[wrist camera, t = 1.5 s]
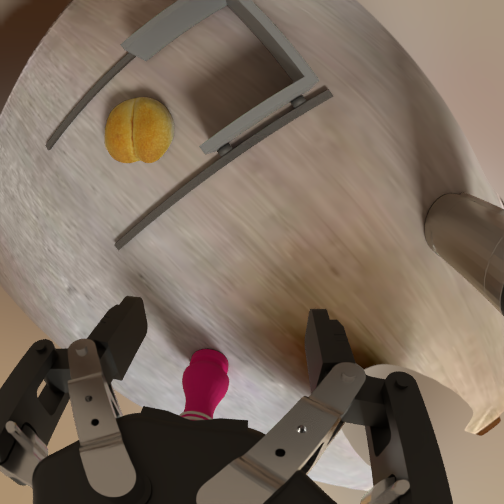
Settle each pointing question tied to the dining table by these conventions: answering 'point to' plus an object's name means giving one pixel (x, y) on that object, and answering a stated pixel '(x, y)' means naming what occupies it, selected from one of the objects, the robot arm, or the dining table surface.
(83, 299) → the dining table surface
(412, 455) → the robot arm
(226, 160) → the track
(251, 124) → the frame
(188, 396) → the pepper mill
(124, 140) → the bread roll
